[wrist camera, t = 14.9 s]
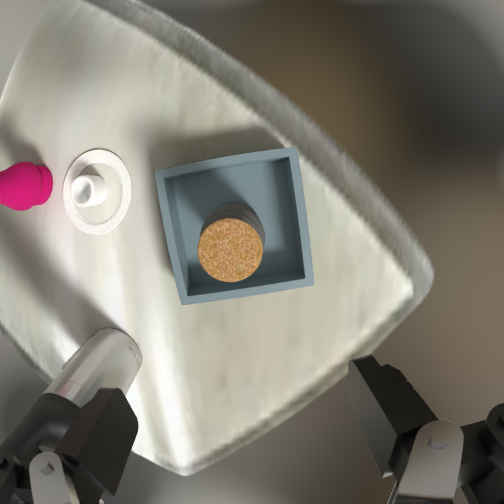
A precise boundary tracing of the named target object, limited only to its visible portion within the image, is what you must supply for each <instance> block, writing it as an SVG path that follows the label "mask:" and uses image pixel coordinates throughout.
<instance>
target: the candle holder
mask: <svg viewBox="0 0 504 504" xmlns="http://www.w3.org/2000/svg"><path fill="white" fill-rule="evenodd" d="M92 163H105V164H107V165H109V166H111V167H112V168H113V169H114V170H115V171H116V173H117V174H118V176H119V179H120V182H121V188H122V194H121V200H120V204H119V206H118V208H117V210H116V212H115V213H114V214H113V215H112V217H110V218H109V219H108V220H106V221H104V222H101V223H91V222H88V221H86V220H85V219H83V218H82V217H81V216H80V215H79V213H78V212H77V210H76V208H75V206H74V204H75V205H76V206H78V207H88V206H94V205H98V204H100V203H102V202H103V201H104V199H105V198H106V195H107V184H106V182H105V180H104V179H103V178H101V177H99V176H89V175H82V176H79V177H77V176H78V175H79V173H80V172H81V171H82V170H83V169H84V168H85V167H86V166H88V165H90V164H92ZM130 197H131V182H130V177H129V174H128V171H127V169H126V167H125V165H124V163H123V162H122V161H121V160H120V158H119V157H117V156H116V155H115V154H113V153H111V152H109V151H106V150H92V151H89V152H86V153H84V154H83V155H81V156H80V157H79V158H77V159H76V160H75V162H74V163H73V164H72V165H71V167H70V168H69V170H68V172H67V174H66V177H65V180H64V185H63V203H64V207H65V211H66V213H67V215H68V217H69V219H70V220H71V222H72V223H73V224H74V225H75V226H76V227H77V228H78V229H80V230H82V231H83V232H86V233H89V234H103V233H106V232H108V231H110V230H112V229H114V228H115V227H116V226H117V225H118V223H119V222H120V221H121V220H122V218H123V217H124V215H125V213H126V211H127V209H128V206H129V202H130Z"/></svg>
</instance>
